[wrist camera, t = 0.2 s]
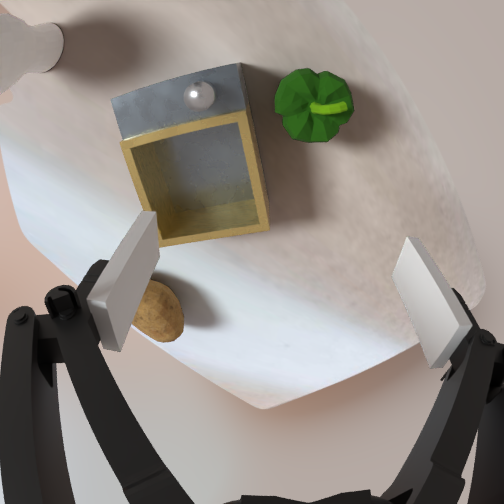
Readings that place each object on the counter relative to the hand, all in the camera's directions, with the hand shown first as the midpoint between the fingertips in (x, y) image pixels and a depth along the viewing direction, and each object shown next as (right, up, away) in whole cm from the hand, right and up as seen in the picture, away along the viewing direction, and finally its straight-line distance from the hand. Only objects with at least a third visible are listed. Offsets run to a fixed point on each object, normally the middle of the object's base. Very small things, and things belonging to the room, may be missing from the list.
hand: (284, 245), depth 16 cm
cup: (-31, +28, +14) cm, 44 cm away
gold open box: (-8, +13, +23) cm, 28 cm away
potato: (-18, -7, +38) cm, 43 cm away
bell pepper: (+5, +18, +20) cm, 27 cm away
